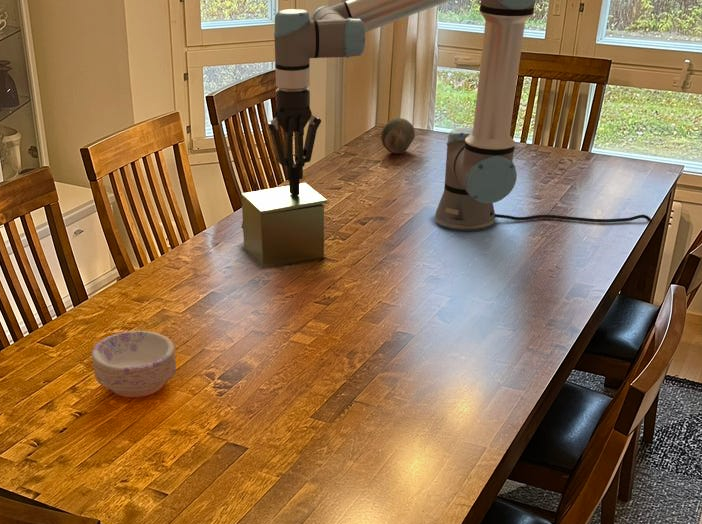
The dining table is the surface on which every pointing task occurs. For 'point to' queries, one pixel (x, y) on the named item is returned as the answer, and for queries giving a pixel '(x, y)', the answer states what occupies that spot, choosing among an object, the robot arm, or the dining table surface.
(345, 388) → the dining table surface
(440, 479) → the dining table surface
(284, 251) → the trash can
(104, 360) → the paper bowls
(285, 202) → the bin lid
